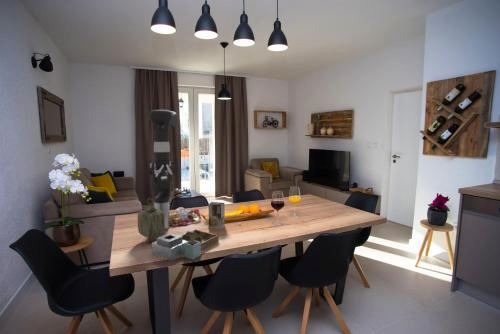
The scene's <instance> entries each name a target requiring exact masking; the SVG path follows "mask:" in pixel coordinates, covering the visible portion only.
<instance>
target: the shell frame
mask: <svg viewBox="0 0 500 334" xmlns="http://www.w3.org/2000/svg"><path fill="white" fill-rule="evenodd" d="M192 231H194V232H195V233H197V234H198V235H200V236H201V239H205V241H202V243H201V252H202V250H203V251H205V250H206V249H208V248H210V247H212V246H214V245H216V244H218V243H219V240H220V239H219V235H218V234H216V233H213V232H212V233H211V232H208V231H203V230H199V229H194V230H192ZM192 231H191V230H190V232H192ZM180 236H183V240H184V241H186V240H185V239H186V233H184V234H181V235H180ZM188 242H189V241H188Z"/></svg>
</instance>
